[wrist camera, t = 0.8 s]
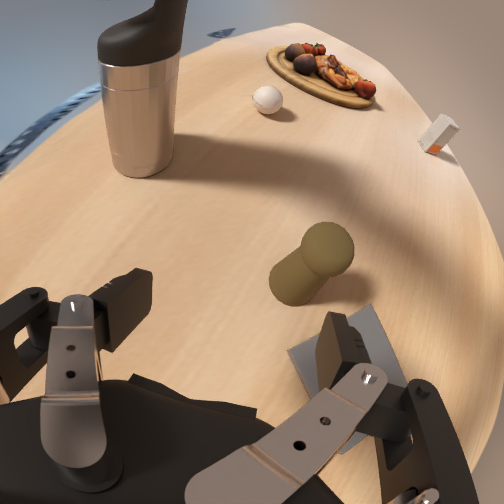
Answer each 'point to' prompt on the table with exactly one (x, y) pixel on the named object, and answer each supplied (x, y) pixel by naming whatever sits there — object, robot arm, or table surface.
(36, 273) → the table surface
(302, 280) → the cork
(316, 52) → the wooden plate with food
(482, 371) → the table surface
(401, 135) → the table surface
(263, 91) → the white egg
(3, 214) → the table surface
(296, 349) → the slate tile
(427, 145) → the skincare box
